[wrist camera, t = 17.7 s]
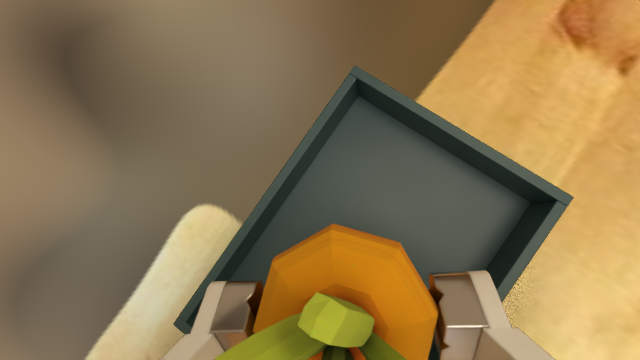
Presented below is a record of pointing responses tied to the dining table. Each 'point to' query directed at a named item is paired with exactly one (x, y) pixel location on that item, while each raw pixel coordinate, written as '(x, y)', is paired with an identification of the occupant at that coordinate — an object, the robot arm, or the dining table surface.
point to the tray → (396, 194)
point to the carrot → (341, 303)
